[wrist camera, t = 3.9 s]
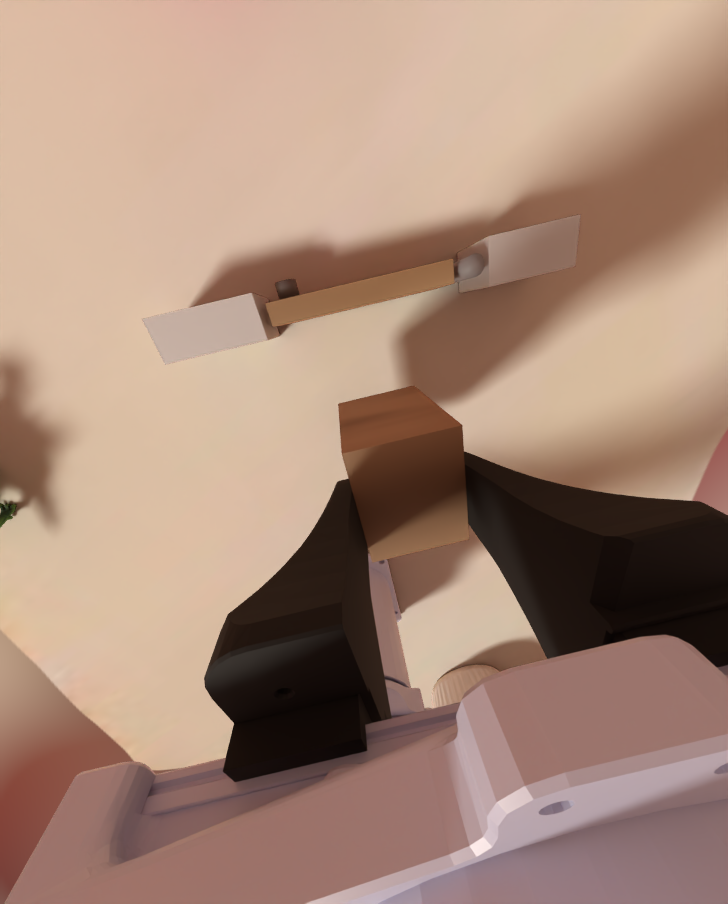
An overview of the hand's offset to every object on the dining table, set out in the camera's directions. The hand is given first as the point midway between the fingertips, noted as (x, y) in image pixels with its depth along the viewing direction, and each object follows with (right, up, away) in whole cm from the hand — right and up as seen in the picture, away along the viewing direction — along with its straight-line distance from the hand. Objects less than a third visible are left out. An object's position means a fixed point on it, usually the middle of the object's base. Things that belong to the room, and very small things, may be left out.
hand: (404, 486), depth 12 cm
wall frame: (-3, +10, +4) cm, 11 cm away
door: (-2, +11, +4) cm, 12 cm away
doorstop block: (-1, +2, +4) cm, 5 cm away
